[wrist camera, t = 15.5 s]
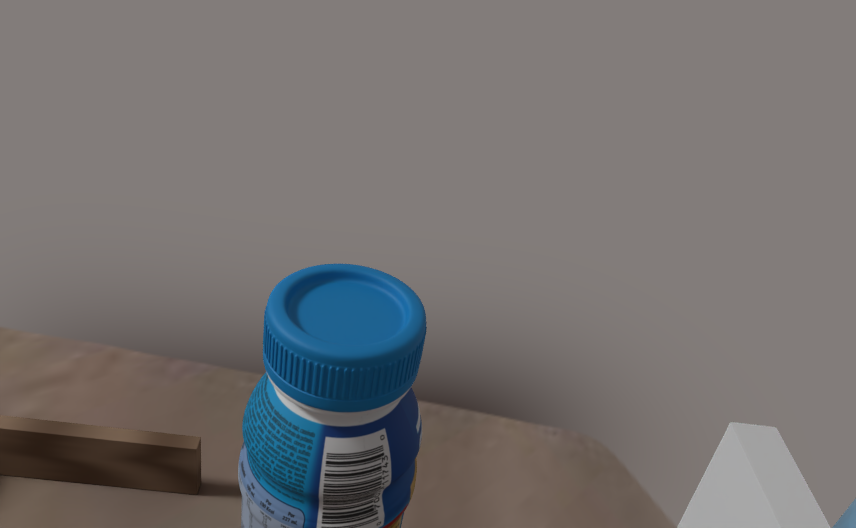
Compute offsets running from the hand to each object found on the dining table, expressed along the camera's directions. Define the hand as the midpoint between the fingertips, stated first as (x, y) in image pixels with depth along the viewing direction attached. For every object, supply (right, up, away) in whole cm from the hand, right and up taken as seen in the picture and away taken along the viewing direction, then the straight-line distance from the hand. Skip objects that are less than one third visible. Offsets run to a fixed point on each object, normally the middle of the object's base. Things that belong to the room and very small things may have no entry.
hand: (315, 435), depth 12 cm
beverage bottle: (-5, -16, +30) cm, 34 cm away
